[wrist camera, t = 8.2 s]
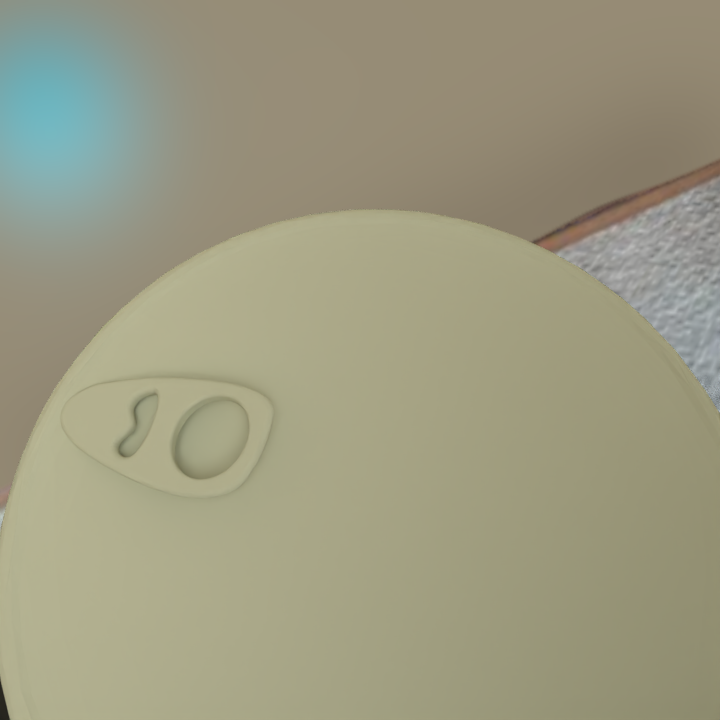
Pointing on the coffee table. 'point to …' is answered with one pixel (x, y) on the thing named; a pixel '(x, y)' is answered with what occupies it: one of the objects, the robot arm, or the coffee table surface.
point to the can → (368, 493)
